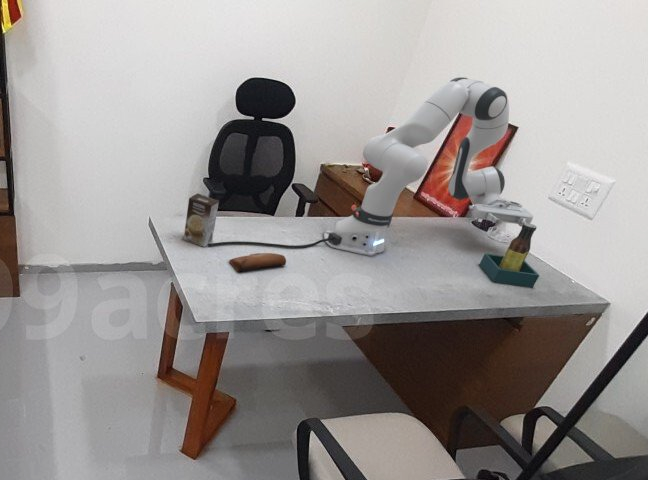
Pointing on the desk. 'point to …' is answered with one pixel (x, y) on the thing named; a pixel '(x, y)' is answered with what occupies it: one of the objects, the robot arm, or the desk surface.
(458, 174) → the robot arm
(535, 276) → the teal open box
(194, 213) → the coffee box
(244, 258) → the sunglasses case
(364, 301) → the desk surface
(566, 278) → the desk surface
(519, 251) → the sauce bottle
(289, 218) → the desk surface
